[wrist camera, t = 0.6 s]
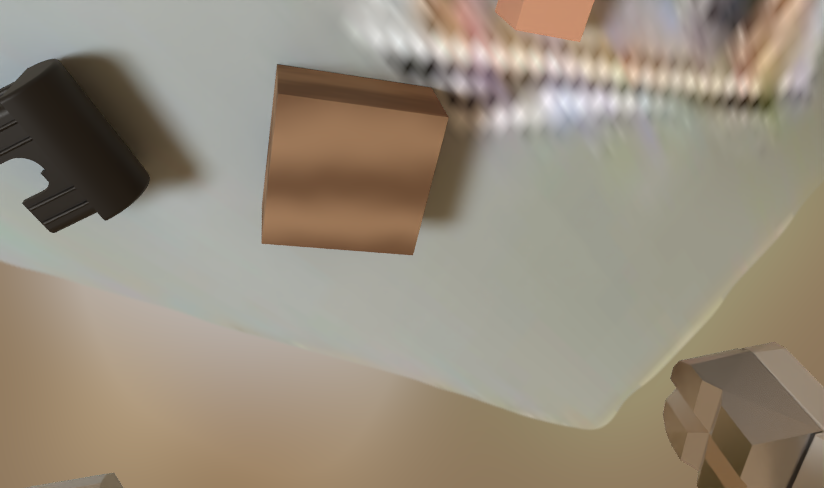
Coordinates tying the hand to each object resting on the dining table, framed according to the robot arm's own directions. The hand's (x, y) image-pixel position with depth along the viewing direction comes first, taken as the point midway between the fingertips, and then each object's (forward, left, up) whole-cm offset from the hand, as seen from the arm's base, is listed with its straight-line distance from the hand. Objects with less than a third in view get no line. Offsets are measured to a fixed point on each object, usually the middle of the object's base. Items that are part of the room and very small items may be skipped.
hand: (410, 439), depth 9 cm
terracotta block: (-1, +17, -42) cm, 45 cm away
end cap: (+15, -15, -42) cm, 47 cm away
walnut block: (+14, +5, -42) cm, 44 cm away
